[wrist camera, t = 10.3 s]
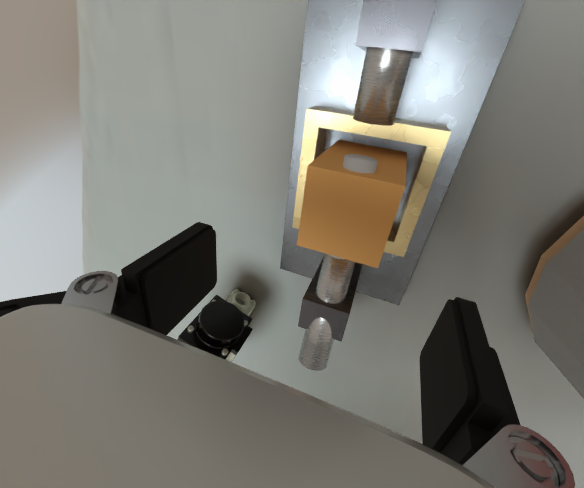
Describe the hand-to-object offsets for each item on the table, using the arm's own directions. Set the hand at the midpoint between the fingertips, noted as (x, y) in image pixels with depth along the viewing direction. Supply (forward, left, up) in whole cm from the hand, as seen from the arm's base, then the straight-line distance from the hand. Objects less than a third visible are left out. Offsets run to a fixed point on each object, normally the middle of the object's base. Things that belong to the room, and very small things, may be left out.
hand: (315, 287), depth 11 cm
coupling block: (0, 0, -14) cm, 14 cm away
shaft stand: (-1, 0, -16) cm, 16 cm away
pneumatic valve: (-19, +11, -16) cm, 28 cm away
